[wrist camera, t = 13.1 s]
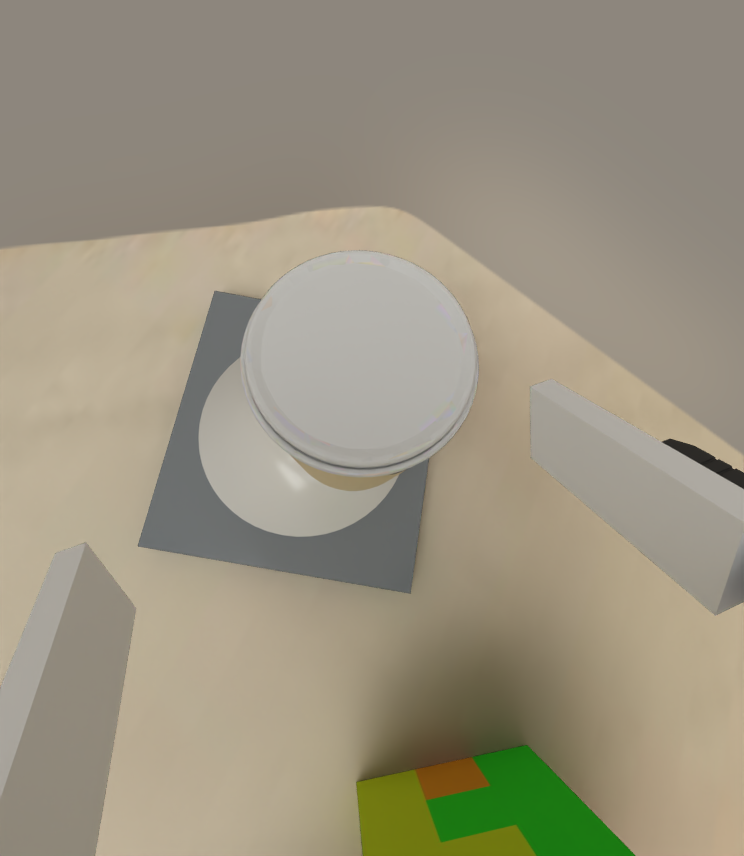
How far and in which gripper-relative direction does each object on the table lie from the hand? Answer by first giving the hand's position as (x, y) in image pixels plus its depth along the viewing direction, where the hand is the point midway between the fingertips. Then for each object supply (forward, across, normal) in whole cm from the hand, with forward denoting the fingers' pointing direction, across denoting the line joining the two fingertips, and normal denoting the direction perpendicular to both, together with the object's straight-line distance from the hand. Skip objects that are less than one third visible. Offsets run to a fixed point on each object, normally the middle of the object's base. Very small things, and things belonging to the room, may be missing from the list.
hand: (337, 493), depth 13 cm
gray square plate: (+16, 0, -7) cm, 17 cm away
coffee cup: (+14, +3, -7) cm, 16 cm away
